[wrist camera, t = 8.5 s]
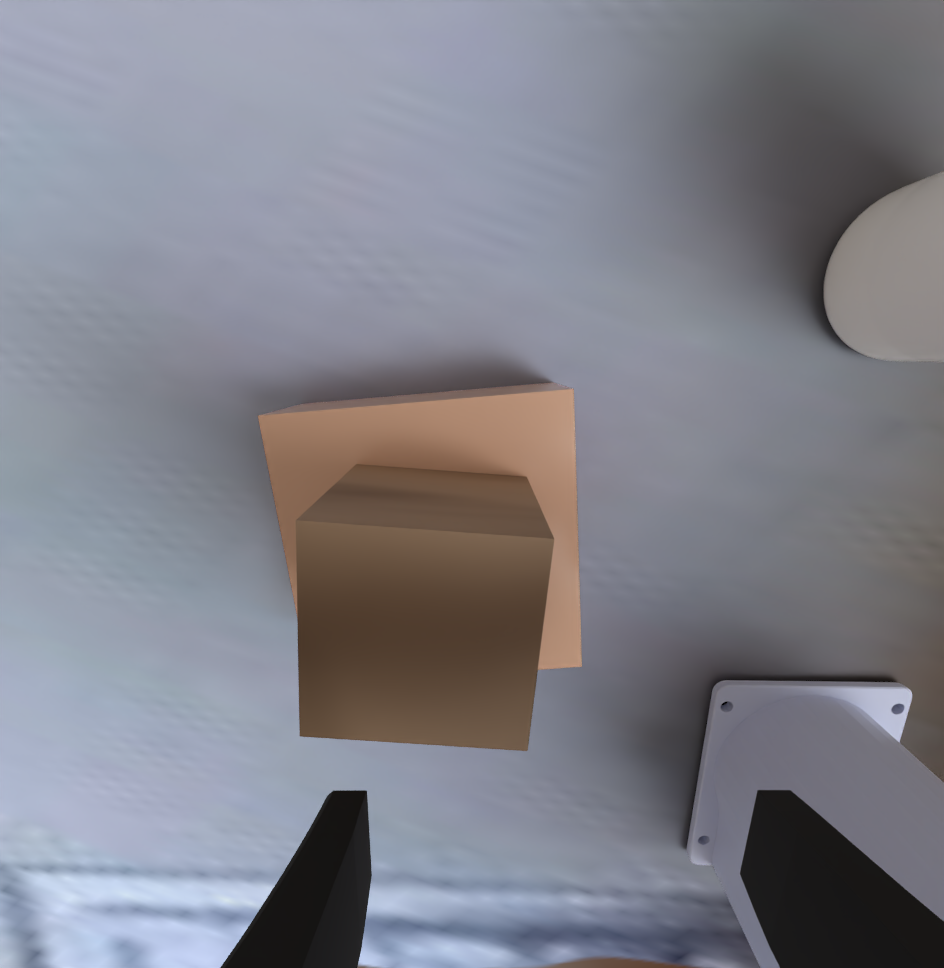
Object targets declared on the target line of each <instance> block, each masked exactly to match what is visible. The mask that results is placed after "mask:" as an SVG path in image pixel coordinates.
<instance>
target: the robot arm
mask: <svg viewBox="0 0 944 968" xmlns="http://www.w3.org/2000/svg"><path fill="white" fill-rule="evenodd" d="M911 700H912V692H911V690H909V689H908V688H907V687H905V686H904V685H903V684H901V683H897V682H830V681H750V680H724V681H720V682H718V683H717V684H716V685H715V686H714V688H713V690H712V696H711V702H710V708H709V714H708V720H707V726H706V733H705V739H704V745H703V751H702V757H701V763H700V769H699V776H698V782H697V788H696V794H695V800H694V806H693V812H692V819H691V825H690V831H689V837H688V843H687V849H686V850H687V855H688V857H689V859H690V861H691V862H692V863H694V864H696V865H713V868H714V870H715V872H716V874H717V876H718V878H719V880H720V882H721V885H722V887H723V889H724V891H725V893H726V895H727V897H728V899H729V902H730V904H731V906H732V908H733V910H734V912H735V914H736V916H737V919H738V921H739V923H740V925H741V927H742V929H743V931H744V933H745V936H746V938H747V940H748V942H749V944H750V946H751V948H752V950H753V953H754V955H755V957H756V959H757V961H758V963H759V965H760V967H761V968H944V782H942V781H941V780H940V779H939V778H938V777H937V776H936V775H935V774H934V773H932V772H931V771H930V770H929V769H928V768H927V767H926V766H925V765H924V764H923V763H921V762H920V761H919V760H918V759H917V758H916V757H915V756H914V755H913V754H911V753H910V752H909V751H908V750H907V749H906V748H905V747H904V746H903V745H901V744H900V743H899V742H900V738H901V735H902V731H903V728H904V724H905V721H906V717H907V714H908V711H909V707H910V704H911ZM727 701H728V702H727ZM724 702H727V703H726V704H725V705H722V706H721V704H722V703H724ZM371 876H372V874H371V856H370V838H369V821H368V803H367V791H333V792H331V793H330V794H329V795H328V796H327V798H326V800H325V802H324V803H323V805H322V807H321V809H320V811H319V813H318V815H317V816H316V818H315V820H314V822H313V824H312V825H311V827H310V829H309V831H308V832H307V834H306V836H305V838H304V839H303V841H302V843H301V844H300V846H299V848H298V849H297V851H296V853H295V854H294V856H293V858H292V859H291V861H290V863H289V864H288V866H287V868H286V869H285V871H284V873H283V874H282V876H281V877H280V879H279V881H278V882H277V884H276V885H275V887H274V888H273V890H272V891H271V893H270V895H269V896H268V898H267V899H266V901H265V902H264V904H263V905H262V907H261V909H260V910H259V912H258V913H257V915H256V916H255V918H254V919H253V921H252V923H251V924H250V926H249V927H248V929H247V930H246V932H245V933H244V935H243V936H242V938H241V939H240V940H239V942H238V943H237V945H236V946H235V948H234V949H233V951H232V952H231V953H230V955H229V956H228V958H227V959H226V961H225V962H224V963H223V965H222V966H221V968H357V966H358V961H359V957H360V952H361V947H362V940H363V933H364V926H365V919H366V912H367V905H368V898H369V890H370V883H371Z"/></svg>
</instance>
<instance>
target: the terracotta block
mask: <svg viewBox="0 0 944 968" xmlns="http://www.w3.org/2000/svg"><path fill="white" fill-rule="evenodd" d="M258 419H259V424H260V429H261V435H262V440H263V445H264V450H265V455H266V460H267V465H268V470H269V475H270V480H271V485H272V490H273V496H274V501H275V506H276V511H277V516H278V521H279V526H280V531H281V536H282V541H283V546H284V551H285V557H286V562H287V567H288V572H289V577H290V582H291V587H292V592H293V597H294V602H295V607H296V613H297V563H296V520H297V519H298V518H299V517H300V516H301V515H302V514H303V513H304V512H305V511H306V510H307V509H308V508H310V507H311V506H312V505H313V504H314V503H315V502H316V501H317V500H318V499H319V498H320V497H321V496H323V495H324V494H325V493H326V492H327V491H328V490H329V489H330V488H331V487H332V486H333V485H334V484H336V483H337V482H338V481H339V480H340V479H341V478H342V477H343V476H344V475H345V474H346V473H347V472H349V471H350V470H351V469H352V468H353V467H354V466H355V465H356V464H362V465H376V466H389V467H403V468H416V469H430V470H443V471H457V472H470V473H484V474H497V475H511V476H524V477H527V479H528V481H529V483H530V485H531V488H532V490H533V492H534V494H535V496H536V499H537V501H538V503H539V505H540V508H541V510H542V512H543V514H544V517H545V519H546V521H547V523H548V526H549V528H550V530H551V532H552V535H553V537H554V546H553V554H552V562H551V569H550V577H549V585H548V593H547V601H546V609H545V616H544V624H543V632H542V640H541V648H540V656H539V664H538V670H542V669H556V668H569V667H582V654H581V620H580V586H579V552H578V518H577V484H576V450H575V417H574V389H572V388H569V387H566V386H563V385H560V384H557V383H554V382H550V383H539V384H527V385H515V386H503V387H492V388H480V389H468V390H456V391H445V392H433V393H421V394H409V395H398V396H386V397H374V398H362V399H351V400H339V401H327V402H315V403H304V404H299V405H295V406H291V407H288V408H284V409H280V410H277V411H273V412H269V413H266V414H262V415H258ZM297 618H298V615H297Z"/></svg>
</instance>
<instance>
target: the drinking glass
mask: <svg viewBox="0 0 944 968" xmlns="http://www.w3.org/2000/svg"><path fill="white" fill-rule="evenodd" d="M823 296H824V306H825V310H826V314H827V317H828V320H829V322H830V324H831V326H832V328H833V329H834V331H835V333H836V334H837V335H838V337H839V338H840V339H841V340H842V341H843V342H844V343H845V344H846V345H848V346H849V347H850V348H852V349H853V350H855V351H857V352H858V353H861V354H863V355H865V356H868V357H871V358H874V359H879V360H885V361H903V362H941V363H944V171H942V172H939V173H937V174H934V175H931V176H929V177H926V178H924V179H921V180H919V181H916V182H914V183H911V184H909V185H907V186H904V187H902V188H900V189H897V190H895V191H893V192H891V193H889V194H888V195H886V196H884V197H882V198H881V199H879V200H878V201H876V202H875V203H873V204H872V205H871V206H869V207H868V208H867V209H866V210H864V211H863V212H862V213H861V214H860V215H859V216H858V217H857V218H856V219H855V220H854V221H853V222H852V223H851V225H850V226H849V227H848V228H847V229H846V231H845V232H844V233H843V235H842V236H841V238H840V240H839V241H838V243H837V245H836V247H835V248H834V251H833V253H832V255H831V257H830V260H829V263H828V266H827V269H826V273H825V279H824V288H823Z"/></svg>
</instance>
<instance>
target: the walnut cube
mask: <svg viewBox="0 0 944 968" xmlns="http://www.w3.org/2000/svg"><path fill="white" fill-rule="evenodd" d="M553 546H554V537H553V535H552V532H551V530H550V528H549V526H548V523H547V521H546V519H545V517H544V514H543V512H542V510H541V508H540V505H539V503H538V501H537V499H536V496H535V494H534V492H533V490H532V488H531V485H530V483H529V481H528V479H527V477H524V476H511V475H497V474H484V473H470V472H457V471H443V470H430V469H416V468H403V467H389V466H376V465H362V464H356V465H355V466H354V467H353V468H352V469H351V470H350V471H349V472H347V473H346V474H345V475H344V476H343V477H342V478H341V479H340V480H339V481H338V482H337V483H336V484H334V485H333V486H332V487H331V488H330V489H329V490H328V491H327V492H326V493H325V494H324V495H323V496H321V497H320V498H319V499H318V500H317V501H316V502H315V503H314V504H313V505H312V506H311V507H310V508H308V509H307V510H306V511H305V512H304V513H303V514H302V515H301V516H300V517H299V518H298V519H297V520H296V563H297V615H298V667H299V719H300V736H303V737H318V738H334V739H350V740H365V741H381V742H396V743H412V744H427V745H443V746H458V747H474V748H490V749H505V750H521V751H527V750H528V742H529V734H530V726H531V719H532V711H533V703H534V695H535V687H536V679H537V671H538V664H539V656H540V648H541V640H542V632H543V624H544V616H545V609H546V601H547V593H548V585H549V577H550V569H551V562H552V554H553Z"/></svg>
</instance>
